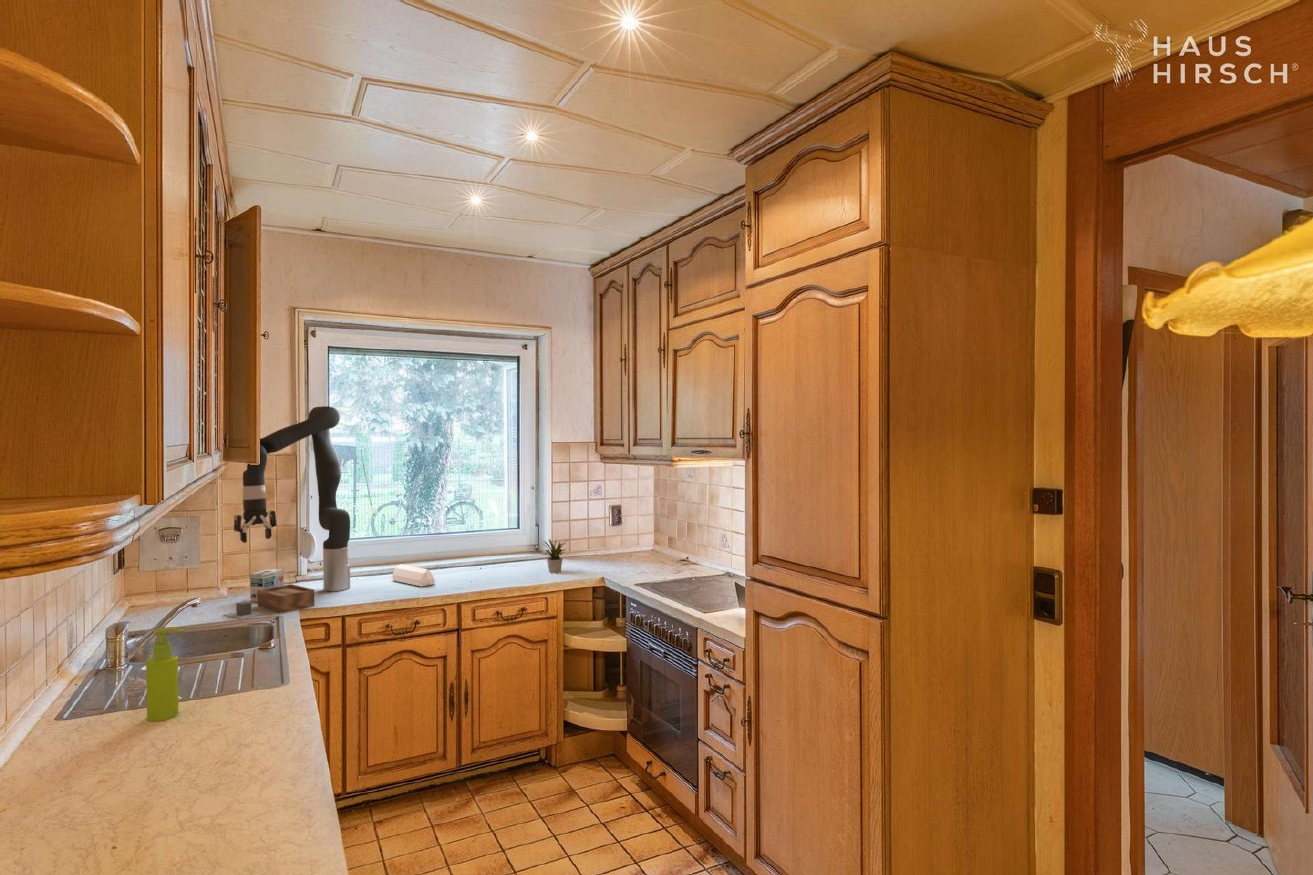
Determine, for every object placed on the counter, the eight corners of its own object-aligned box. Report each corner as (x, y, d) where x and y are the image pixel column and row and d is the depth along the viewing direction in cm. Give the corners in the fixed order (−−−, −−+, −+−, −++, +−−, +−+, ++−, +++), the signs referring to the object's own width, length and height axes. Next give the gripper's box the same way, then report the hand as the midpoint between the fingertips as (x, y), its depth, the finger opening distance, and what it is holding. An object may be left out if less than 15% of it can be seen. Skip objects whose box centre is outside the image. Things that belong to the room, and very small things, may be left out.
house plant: (530, 574, 318) (530, 538, 317) (544, 568, 331) (544, 533, 331) (559, 576, 313) (559, 539, 313) (572, 570, 327) (572, 535, 326)
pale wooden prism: (441, 575, 299) (408, 568, 313) (428, 569, 294) (395, 562, 308) (434, 591, 296) (401, 584, 310) (421, 586, 291) (388, 578, 305)
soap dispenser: (178, 719, 159) (177, 630, 159) (142, 723, 157) (141, 633, 157) (187, 709, 164) (186, 624, 164) (153, 712, 163) (151, 626, 162)
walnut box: (291, 599, 272) (291, 584, 272) (314, 605, 262) (314, 589, 262) (257, 606, 262) (257, 590, 262) (280, 612, 252) (280, 596, 252)
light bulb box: (264, 602, 268) (264, 574, 268) (249, 601, 270) (249, 573, 269) (284, 595, 279) (284, 568, 279) (270, 595, 280) (269, 568, 280)
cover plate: (245, 611, 256) (245, 598, 256) (264, 615, 250) (264, 602, 250) (222, 616, 249) (222, 603, 249) (242, 621, 243) (242, 607, 243)
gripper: (268, 494, 271) (270, 536, 271) (229, 499, 259) (231, 542, 259) (278, 495, 266) (280, 538, 267) (239, 500, 255) (241, 544, 255)
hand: (256, 540), depth 263 cm, fingers open, 8 cm apart
